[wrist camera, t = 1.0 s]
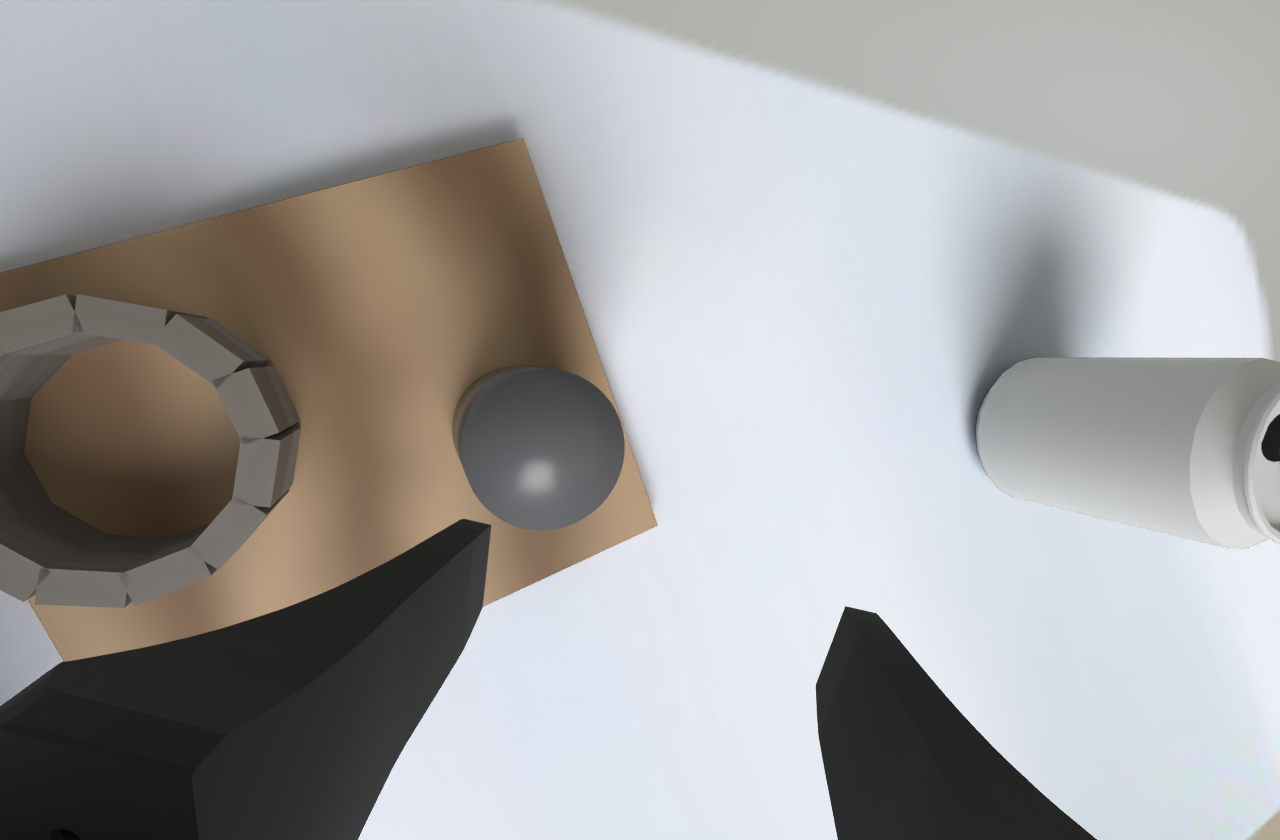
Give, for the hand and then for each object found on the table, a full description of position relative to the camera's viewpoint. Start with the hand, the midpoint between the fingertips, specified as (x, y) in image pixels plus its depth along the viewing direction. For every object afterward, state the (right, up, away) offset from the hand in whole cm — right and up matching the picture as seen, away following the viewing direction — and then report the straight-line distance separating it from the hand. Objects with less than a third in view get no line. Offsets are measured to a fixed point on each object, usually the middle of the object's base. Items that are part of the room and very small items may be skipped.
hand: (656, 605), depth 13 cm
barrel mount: (-11, +3, +11) cm, 16 cm away
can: (+20, +3, +22) cm, 30 cm away
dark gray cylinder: (-5, +3, +12) cm, 13 cm away
